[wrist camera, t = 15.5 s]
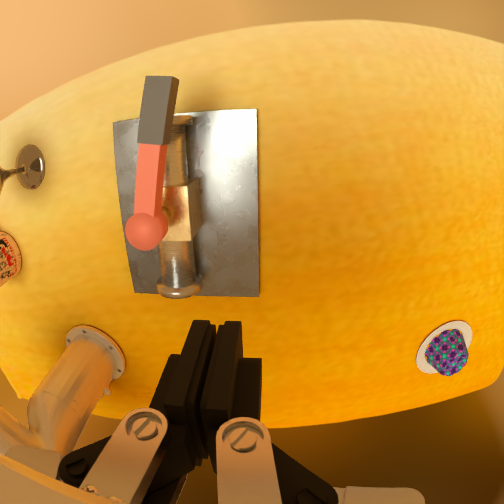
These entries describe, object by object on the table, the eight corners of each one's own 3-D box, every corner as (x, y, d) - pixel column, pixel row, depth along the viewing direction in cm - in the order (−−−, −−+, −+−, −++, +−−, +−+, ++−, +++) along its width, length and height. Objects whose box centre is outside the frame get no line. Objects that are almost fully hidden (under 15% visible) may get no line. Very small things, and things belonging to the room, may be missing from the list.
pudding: (452, 370, 48) (462, 388, 43) (404, 370, 48) (413, 390, 43) (480, 320, 43) (493, 337, 38) (432, 315, 43) (445, 334, 38)
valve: (259, 293, 43) (255, 336, 34) (137, 289, 44) (109, 326, 35) (256, 109, 34) (251, 102, 25) (116, 122, 35) (74, 124, 26)
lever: (167, 244, 30) (159, 253, 28) (134, 238, 30) (124, 247, 28) (186, 80, 24) (178, 76, 22) (149, 79, 24) (138, 75, 22)
